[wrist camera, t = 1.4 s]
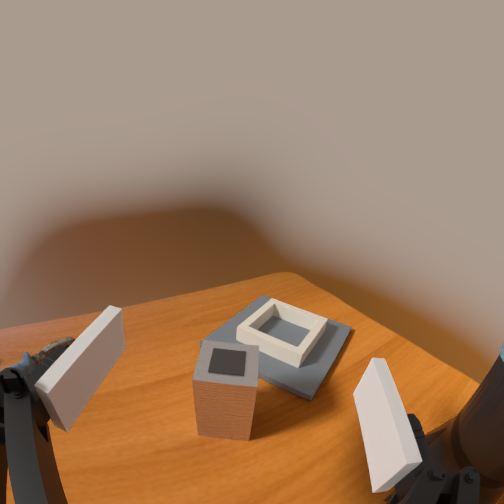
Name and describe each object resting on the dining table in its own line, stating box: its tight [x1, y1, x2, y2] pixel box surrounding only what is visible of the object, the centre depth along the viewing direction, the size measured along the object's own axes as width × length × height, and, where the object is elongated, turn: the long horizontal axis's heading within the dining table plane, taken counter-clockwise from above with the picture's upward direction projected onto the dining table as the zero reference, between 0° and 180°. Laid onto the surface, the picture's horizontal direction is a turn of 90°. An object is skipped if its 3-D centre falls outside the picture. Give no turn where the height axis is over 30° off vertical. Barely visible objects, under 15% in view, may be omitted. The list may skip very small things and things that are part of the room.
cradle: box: [200, 295, 352, 401], centre depth 43 cm, size 18×18×4 cm
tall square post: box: [192, 340, 259, 441], centre depth 27 cm, size 6×6×10 cm
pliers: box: [0, 337, 75, 379], centre depth 24 cm, size 20×2×6 cm, turn 157°
